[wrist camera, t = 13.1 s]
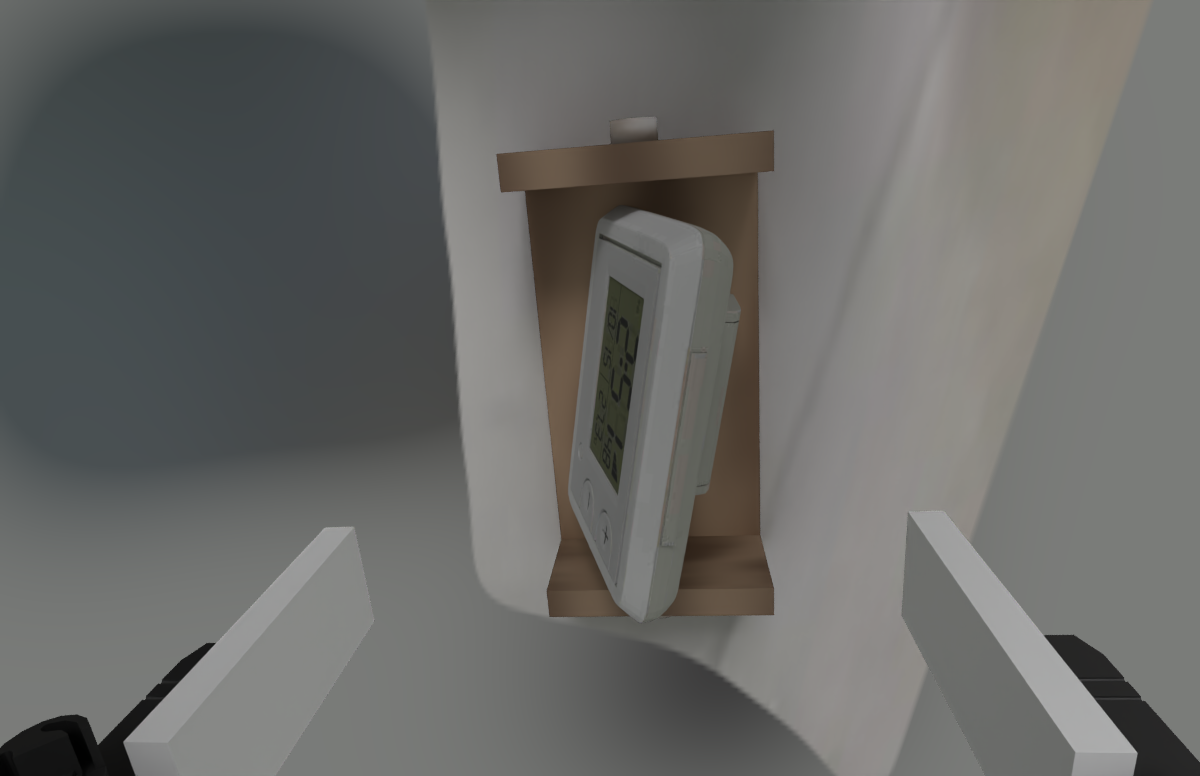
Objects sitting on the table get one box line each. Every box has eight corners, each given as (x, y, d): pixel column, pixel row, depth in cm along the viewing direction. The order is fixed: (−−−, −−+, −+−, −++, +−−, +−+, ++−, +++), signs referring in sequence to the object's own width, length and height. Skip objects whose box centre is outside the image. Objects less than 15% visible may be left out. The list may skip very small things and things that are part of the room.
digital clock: (611, 185, 32) (586, 191, 22) (790, 246, 32) (847, 280, 22) (519, 477, 37) (465, 590, 27) (674, 529, 38) (677, 661, 27)
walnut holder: (753, 115, 32) (773, 102, 26) (757, 563, 39) (773, 632, 33) (524, 135, 33) (493, 127, 27) (568, 566, 40) (551, 633, 34)
